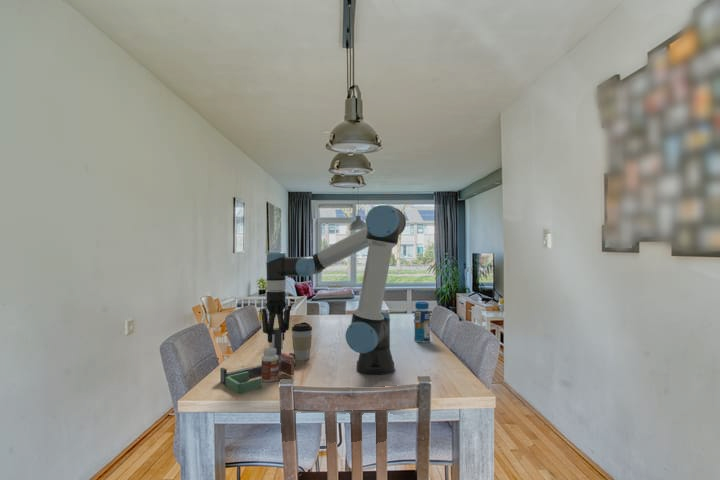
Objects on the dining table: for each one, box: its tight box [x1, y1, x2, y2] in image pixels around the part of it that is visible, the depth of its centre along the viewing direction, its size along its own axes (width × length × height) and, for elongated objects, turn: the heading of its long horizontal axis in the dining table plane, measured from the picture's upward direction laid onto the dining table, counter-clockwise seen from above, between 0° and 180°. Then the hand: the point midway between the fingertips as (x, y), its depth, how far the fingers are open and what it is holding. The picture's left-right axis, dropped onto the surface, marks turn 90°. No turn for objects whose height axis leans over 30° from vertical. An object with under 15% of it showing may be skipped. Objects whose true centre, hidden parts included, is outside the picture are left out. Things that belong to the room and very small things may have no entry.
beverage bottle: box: [413, 301, 431, 344], centre depth 201 cm, size 8×8×20 cm
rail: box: [219, 352, 296, 385], centre depth 150 cm, size 3×30×5 cm, turn 132°
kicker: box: [273, 327, 296, 377], centre depth 151 cm, size 14×6×16 cm, turn 42°
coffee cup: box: [291, 322, 313, 361], centre depth 171 cm, size 9×9×15 cm
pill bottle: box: [260, 347, 280, 383], centre depth 143 cm, size 6×6×11 cm
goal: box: [224, 372, 263, 395], centre depth 136 cm, size 11×8×3 cm
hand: (276, 349), depth 155 cm, fingers closed on kicker, 3 cm apart
